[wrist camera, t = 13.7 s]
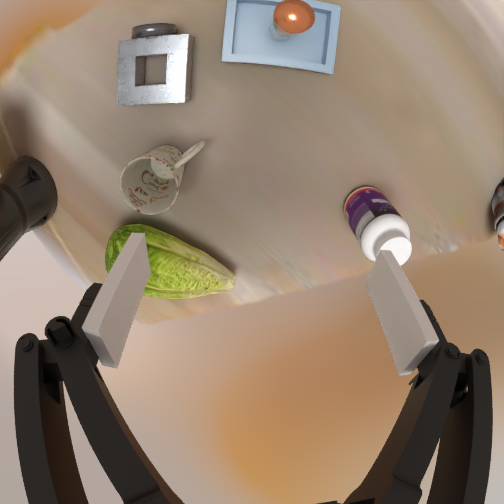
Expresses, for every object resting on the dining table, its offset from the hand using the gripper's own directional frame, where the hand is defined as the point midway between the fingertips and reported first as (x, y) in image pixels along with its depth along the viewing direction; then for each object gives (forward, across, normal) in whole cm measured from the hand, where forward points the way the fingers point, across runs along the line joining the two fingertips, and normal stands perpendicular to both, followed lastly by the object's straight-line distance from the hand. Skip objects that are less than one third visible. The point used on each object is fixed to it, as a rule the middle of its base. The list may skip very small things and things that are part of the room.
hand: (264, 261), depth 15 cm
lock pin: (+30, +2, +16) cm, 34 cm away
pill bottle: (+31, +20, -10) cm, 38 cm away
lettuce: (+31, -13, -23) cm, 41 cm away
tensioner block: (+31, -15, +10) cm, 36 cm away
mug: (+31, -12, -4) cm, 33 cm away
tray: (+31, +2, +16) cm, 35 cm away
